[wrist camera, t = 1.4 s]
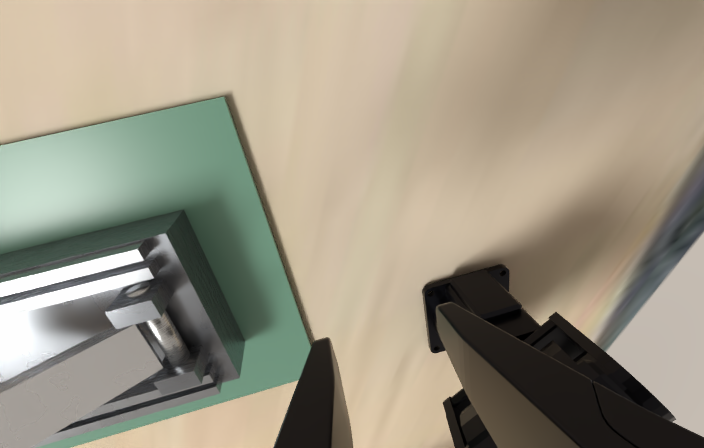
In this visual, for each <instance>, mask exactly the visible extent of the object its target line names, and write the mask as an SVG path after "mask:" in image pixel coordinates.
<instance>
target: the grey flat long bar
mask: <svg viewBox="0 0 704 448" xmlns="http://www.w3.org/2000/svg"><path fill="white" fill-rule="evenodd" d="M161 369H163V365H162V361H161V359H160V357H159V356H158V354H157V353H156V351H155V349H154V348H153V346H152V345H151V343H150V342H149V340H148V339H147V337H146V336H145V334H144V333H143V331H142V329H141V328H140V326H139V325H138V324H135V325H131V326H127V327H124V328H120V329H116V328H115V327H114V326H113V327H111V328H109V329H107V330H105V331H103V332H101V333H99V334H97V335H95V336H93V337H91V338H89V339H87V340H85V341H83V342H81V343H79V344H77V345H75V346H73V347H71V348H69V349H67V350H65V351H63V352H61V353H59V354H57V355H55V356H53V357H51V358H49V359H47V360H46V361H44V362H42V363H40V364H38V365H36V366H34V367H32V368H30V369H28V370H26V371H24V372H22V373H20V374H18V375H16V376H14V377H12V378H10V379H8V380H6V381H4V382H2V383H0V448H31V447H33V446H35V445H36V444H38V443H40V442H41V441H43V440H45V439H46V438H48V437H50V436H51V435H53V434H55V433H56V432H58V431H60V430H61V429H63V428H65V427H66V426H68V425H70V424H71V423H73V422H75V421H76V420H78V419H80V418H81V417H83V416H85V415H86V414H88V413H90V412H91V411H93V410H95V409H96V408H98V407H100V406H101V405H103V404H105V403H106V402H108V401H110V400H111V399H113V398H115V397H116V396H118V395H120V394H121V393H123V392H125V391H126V390H128V389H130V388H131V387H133V386H135V385H136V384H138V383H140V382H141V381H143V380H145V379H146V378H148V377H150V376H151V375H153V374H155V373H156V372H158V371H160V370H161Z"/></svg>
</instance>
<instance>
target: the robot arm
mask: <svg viewBox="0 0 704 448" xmlns="http://www.w3.org/2000/svg"><path fill="white" fill-rule="evenodd" d="M501 271H502V272H501ZM500 272H501V273H500ZM429 291H431V292H430V293H428V292H429ZM422 294H423V302H424V310H425V319H426V327H427V335H428V343H429V348H430V350H431V352H433V353H439V352H442V351H445V350H446V351H447V354H448V356H449V358H450V360H451V362H452V364H453V367H454V369H455V371H456V373H457V375H458V378H459V380H460V382H461V384H462V386H463V389H461V390H460V391H459V392H458V393H456V394H455V395H454V396H453V397H449V398H447V399H446V400H445V401H444V402H443V405H444V409H445V412H446V418H447V421H448V425H449V428H450V432H451V435H452V439H453V442H454V446H455V448H704V437H702V436H700V435H698V434H696V433H694V432H691V431H689V430H687V429H685V428H683V427H681V426H679V425H677V424H675V423H673V421H674V420H676V419H675V417H674V416H673V415H672V414H671V412H670V411H669V410H668V409H667V408H666V407H665V406H664V405H663V404H662V403H661V402H660V401H659V400H658V399H657V398H656V397H655V396H654V395H652V394H651V393H650V392H649V391H648V390H647V389H646V388H645V387H644V386H643V385H642V384H641V383H640V382H639V381H637V380H636V379H635V378H634V377H633V376H632V375H631V374H630V373H629V372H627V371H626V370H625V369H624V368H623V367H622V366H621V365H619V364H618V363H617V362H616V361H615V360H614V359H613V358H612V357H610V356H609V355H608V354H607V353H606V352H604V351H603V350H602V349H601V348H600V347H598V346H597V345H596V344H595V343H593V342H592V341H591V340H590V339H588V338H587V337H586V336H585V335H584V334H582V333H581V332H580V331H579V330H577V329H576V328H575V327H574V326H573V325H571V324H570V323H569V322H568V321H566V320H565V319H564V318H563V317H562V316H560V315H559V314H558V313H557V312H555V313H554V314H553V315H551V316H550V317H549V320H548V321H547V322H545V323H544V324H543V325H542V326H540V325H539V324H538V323H537V322H536V321H535V320H534V319H533V318H532V317H531V316H530V315H529V314H528V313H527V312H526V311H525V310H524V309H523V308H522V305H521V304H520V303H519V302H518V301H517V300H516V299H515V298H514V297H513V296H512V295H511V294H510V293H509V269H508V268H507V267H506V266H504V265H497V266H494V267H490V268H486V269H483V270H479V271H476V272H472V273H469V274H465V275H461V276H458V277H454V278H451V279H447V280H444V281H440V282H437V283H433V284H429V285H427V286H425V287H424V288H423V290H422ZM273 448H353V441H352V433H351V426H350V420H349V415H348V410H347V406H346V401H345V396H344V391H343V387H342V382H341V377H340V372H339V367H338V363H337V360H336V356H335V353H334V350H333V346H332V343H331V340H330V338H328V337H326V338H323V339H319V340H316V341H314V342H313V344H312V346H311V349H310V352H309V354H308V357H307V360H306V362H305V365H304V368H303V370H302V373H301V376H300V378H299V381H298V384H297V386H296V389H295V391H294V394H293V397H292V399H291V402H290V405H289V407H288V410H287V413H286V415H285V418H284V421H283V423H282V426H281V429H280V431H279V434H278V437H277V439H276V442H275V444H274V447H273Z"/></svg>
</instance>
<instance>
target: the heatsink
mask: <svg viewBox="0 0 704 448" xmlns="http://www.w3.org/2000/svg"><path fill="white" fill-rule="evenodd" d="M135 324H138V325H139V326H140V328H141V329H142V331H143V333H144V334H145V336H146V337H147V339H148V340H149V342H150V343H151V345H152V346H153V348H154V349H155V351H156V353H157V354H158V356H159V357H160V359H161V361H162V365H163V369H161V370H160V371H158V372H156V373H155V374H153V375H151V376H150V377H148V378H146V379H145V380H143V381H141V382H140V383H138V384H136V385H135V386H133V387H131V388H130V389H128V390H126V391H125V392H123V393H121V394H120V395H118V396H116V397H115V398H113V399H111V400H110V401H108V402H106V403H105V404H103V405H101V406H100V407H98V408H96V409H95V410H93V411H91V412H90V413H88V414H86V415H85V416H83V417H81V418H80V419H78V420H76V421H75V422H73V423H71V424H70V425H68V426H66V427H65V428H63V429H61V430H60V431H58V432H56V433H55V434H53V435H51V436H50V437H48V438H46V439H45V440H43V441H41V442H40V443H38V444H36V445H35V446H33V447H31V448H36V447H39V446H43V445H46V444H50V443H53V442H56V441H60V440H63V439H67V438H70V437H73V436H77V435H80V434H84V433H87V432H91V431H94V430H97V429H101V428H104V427H108V426H111V425H114V424H118V423H121V422H125V421H128V420H131V419H135V418H138V417H142V416H145V415H149V414H152V413H155V412H159V411H162V410H166V409H169V408H172V407H176V406H179V405H183V404H186V403H189V402H193V401H196V400H200V399H203V398H206V397H210V396H213V395H217V394H220V392H221V387H222V383H224V382H228V381H231V380H235V379H238V378H240V374H241V367H242V361H243V354H244V348H245V339H244V337H243V335H242V333H241V330H240V328H239V326H238V324H237V322H236V320H235V318H234V316H233V313H232V311H231V309H230V307H229V305H228V303H227V301H226V298H225V296H224V294H223V292H222V290H221V288H220V286H219V283H218V281H217V279H216V277H215V275H214V273H213V271H212V268H211V266H210V264H209V262H208V260H207V258H206V256H205V253H204V251H203V249H202V247H201V245H200V243H199V241H198V238H197V236H196V234H195V232H194V230H193V228H192V226H191V223H190V221H189V219H188V217H187V215H186V213H185V211H184V209H183V210H179V211H175V212H171V213H167V214H163V215H158V216H154V217H150V218H146V219H142V220H138V221H134V222H130V223H126V224H122V225H118V226H114V227H110V228H105V229H101V230H97V231H93V232H89V233H85V234H81V235H77V236H73V237H69V238H65V239H61V240H56V241H52V242H48V243H44V244H40V245H36V246H32V247H28V248H24V249H20V250H16V251H12V252H7V253H3V254H0V383H2V382H4V381H6V380H8V379H10V378H12V377H14V376H16V375H18V374H20V373H22V372H24V371H26V370H28V369H30V368H32V367H34V366H36V365H38V364H40V363H42V362H44V361H46V360H47V359H49V358H51V357H53V356H55V355H57V354H59V353H61V352H63V351H65V350H67V349H69V348H71V347H73V346H75V345H77V344H79V343H81V342H83V341H85V340H87V339H89V338H91V337H93V336H95V335H97V334H99V333H101V332H103V331H105V330H107V329H109V328H111V327H113V326H114V327H115V328H116V329H120V328H124V327H127V326H131V325H135Z"/></svg>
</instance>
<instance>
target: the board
mask: <svg viewBox="0 0 704 448" xmlns="http://www.w3.org/2000/svg"><path fill="white" fill-rule="evenodd" d="M183 209H184V211H185V213H186V215H187V217H188V219H189V221H190V223H191V226H192V228H193V230H194V232H195V234H196V236H197V238H198V241H199V243H200V245H201V247H202V249H203V251H204V253H205V256H206V258H207V260H208V262H209V264H210V266H211V268H212V271H213V273H214V275H215V277H216V279H217V281H218V283H219V286H220V288H221V290H222V292H223V294H224V296H225V298H226V301H227V303H228V305H229V307H230V309H231V311H232V313H233V316H234V318H235V320H236V322H237V324H238V326H239V328H240V330H241V333H242V335H243V337H244V339H245V348H244V354H243V361H242V367H241V374H240V378H238V379H235V380H231V381H228V382H224V383H222V387H221V392H220V394H217V395H213V396H210V397H206V398H203V399H200V400H196V401H193V402H189V403H186V404H183V405H179V406H176V407H172V408H169V409H166V410H162V411H159V412H155V413H152V414H149V415H145V416H142V417H138V418H135V419H131V420H128V421H125V422H121V423H118V424H114V425H111V426H108V427H104V428H101V429H97V430H94V431H91V432H87V433H84V434H80V435H77V436H73V437H70V438H67V439H63V440H60V441H56V442H53V443H50V444H46V445H43V446H39V447H36V448H70V447H74V446H77V445H81V444H84V443H87V442H91V441H94V440H97V439H101V438H104V437H108V436H111V435H114V434H118V433H121V432H125V431H128V430H131V429H135V428H138V427H141V426H145V425H148V424H152V423H155V422H158V421H162V420H165V419H168V418H172V417H175V416H179V415H182V414H185V413H189V412H192V411H196V410H199V409H202V408H206V407H209V406H212V405H216V404H219V403H223V402H226V401H229V400H233V399H236V398H240V397H243V396H246V395H250V394H253V393H256V392H260V391H263V390H267V389H270V388H273V387H277V386H280V385H283V384H287V383H290V382H294V381H297V380H299V378H300V376H301V373H302V370H303V368H304V365H305V362H306V360H307V357H308V354H309V352H310V349H311V344H310V341H309V338H308V335H307V332H306V329H305V326H304V323H303V321H302V318H301V315H300V312H299V309H298V306H297V303H296V300H295V297H294V294H293V292H292V289H291V286H290V283H289V280H288V277H287V274H286V271H285V268H284V266H283V263H282V260H281V257H280V254H279V251H278V248H277V245H276V242H275V240H274V237H273V234H272V231H271V228H270V225H269V222H268V219H267V216H266V213H265V211H264V208H263V205H262V202H261V199H260V196H259V193H258V190H257V187H256V185H255V182H254V179H253V176H252V173H251V170H250V167H249V164H248V161H247V159H246V156H245V153H244V150H243V147H242V144H241V141H240V138H239V135H238V132H237V130H236V127H235V124H234V121H233V118H232V115H231V112H230V109H229V106H228V104H227V101H226V98H225V96H224V97H219V98H215V99H210V100H206V101H201V102H197V103H192V104H187V105H183V106H178V107H174V108H169V109H165V110H160V111H155V112H151V113H146V114H142V115H137V116H133V117H128V118H124V119H119V120H114V121H110V122H105V123H101V124H96V125H92V126H87V127H82V128H78V129H73V130H69V131H64V132H60V133H55V134H51V135H46V136H41V137H37V138H32V139H28V140H23V141H19V142H14V143H10V144H5V145H0V254H3V253H7V252H12V251H16V250H20V249H24V248H28V247H32V246H36V245H40V244H44V243H48V242H52V241H56V240H61V239H65V238H69V237H73V236H77V235H81V234H85V233H89V232H93V231H97V230H101V229H105V228H110V227H114V226H118V225H122V224H126V223H130V222H134V221H138V220H142V219H146V218H150V217H154V216H158V215H163V214H167V213H171V212H175V211H179V210H183Z"/></svg>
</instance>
